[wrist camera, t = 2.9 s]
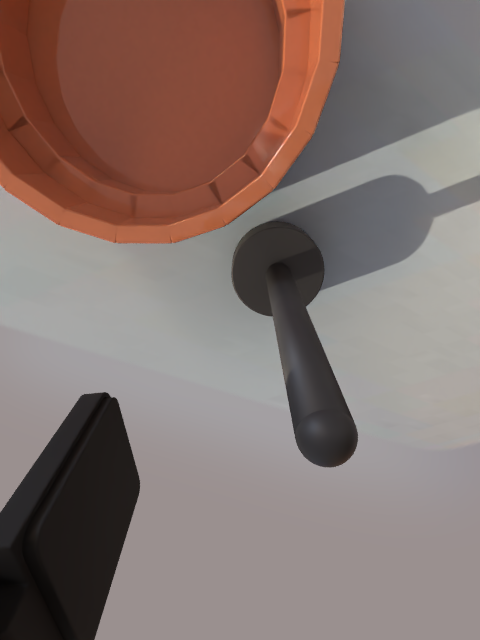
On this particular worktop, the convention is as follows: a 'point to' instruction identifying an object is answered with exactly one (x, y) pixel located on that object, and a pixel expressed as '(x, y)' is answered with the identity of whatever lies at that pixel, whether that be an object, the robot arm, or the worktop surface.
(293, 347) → the grey disc stick
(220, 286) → the worktop surface
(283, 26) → the bowl
